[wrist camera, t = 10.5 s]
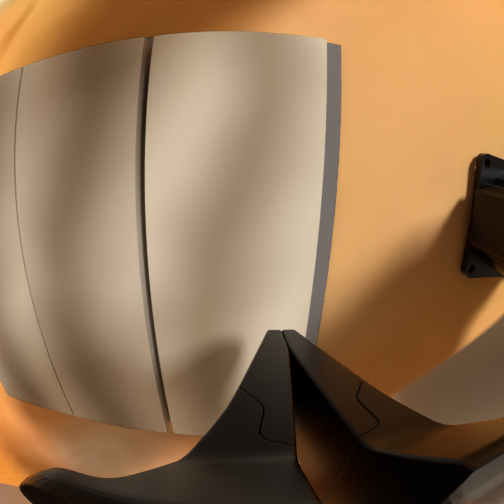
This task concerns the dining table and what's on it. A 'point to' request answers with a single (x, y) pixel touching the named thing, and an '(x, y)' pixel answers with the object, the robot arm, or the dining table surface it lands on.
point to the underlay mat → (325, 188)
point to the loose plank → (230, 204)
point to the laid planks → (78, 238)
